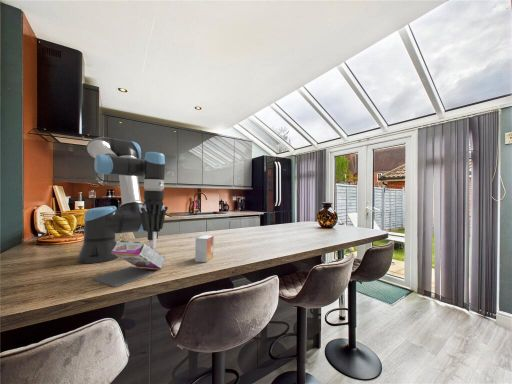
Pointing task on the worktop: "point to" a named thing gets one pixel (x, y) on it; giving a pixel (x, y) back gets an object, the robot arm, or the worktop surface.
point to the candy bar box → (138, 254)
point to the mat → (122, 276)
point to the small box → (204, 248)
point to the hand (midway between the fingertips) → (152, 247)
